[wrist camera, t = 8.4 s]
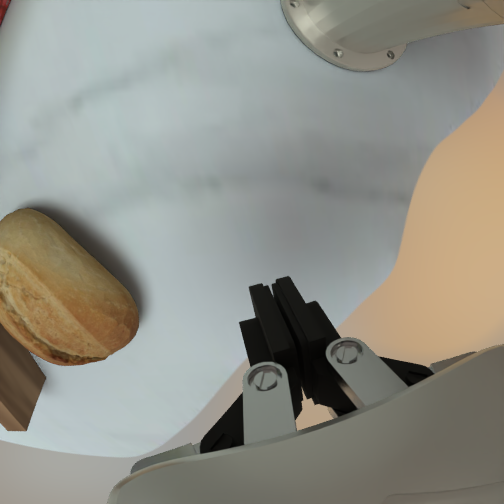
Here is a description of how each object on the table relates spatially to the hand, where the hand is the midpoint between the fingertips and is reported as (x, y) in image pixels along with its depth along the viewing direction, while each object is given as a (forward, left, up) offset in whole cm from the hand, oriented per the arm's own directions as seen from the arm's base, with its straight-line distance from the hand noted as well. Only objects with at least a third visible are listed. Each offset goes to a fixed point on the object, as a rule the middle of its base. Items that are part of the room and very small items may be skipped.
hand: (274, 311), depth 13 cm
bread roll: (+15, +1, -14) cm, 20 cm away
